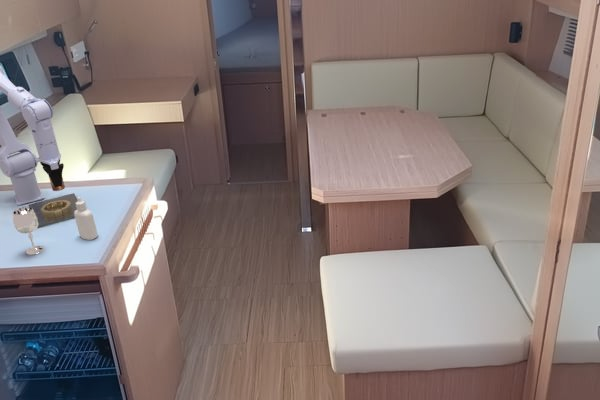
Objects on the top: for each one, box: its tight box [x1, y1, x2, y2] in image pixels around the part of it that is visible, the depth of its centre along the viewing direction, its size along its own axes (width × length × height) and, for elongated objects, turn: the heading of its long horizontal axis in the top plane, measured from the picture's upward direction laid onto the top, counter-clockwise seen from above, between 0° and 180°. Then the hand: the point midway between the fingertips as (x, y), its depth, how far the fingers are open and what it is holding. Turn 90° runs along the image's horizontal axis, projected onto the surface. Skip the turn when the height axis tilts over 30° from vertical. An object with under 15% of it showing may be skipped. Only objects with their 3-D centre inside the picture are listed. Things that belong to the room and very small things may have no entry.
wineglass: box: [12, 206, 45, 256], centre depth 148 cm, size 6×6×12 cm
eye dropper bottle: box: [74, 196, 99, 241], centre depth 153 cm, size 4×6×12 cm
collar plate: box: [27, 192, 78, 229], centre depth 172 cm, size 18×14×2 cm
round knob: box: [48, 176, 66, 192], centre depth 169 cm, size 4×4×5 cm
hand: (57, 184), depth 169 cm, fingers closed on round knob, 4 cm apart
